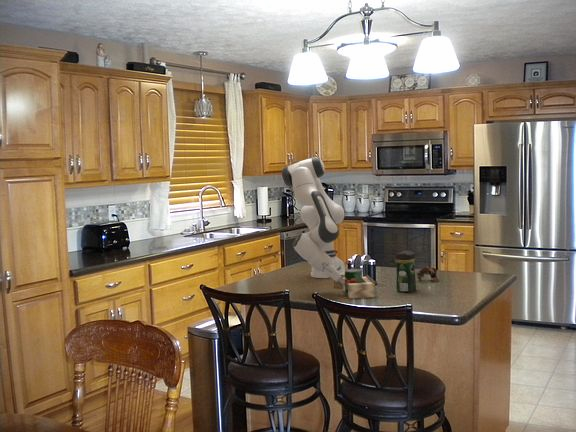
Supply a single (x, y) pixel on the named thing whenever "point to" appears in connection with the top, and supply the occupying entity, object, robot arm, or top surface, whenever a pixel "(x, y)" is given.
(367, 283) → the holder
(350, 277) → the canned tomato
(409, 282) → the coffee jar
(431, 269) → the brown arched piece
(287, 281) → the top surface
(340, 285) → the walnut block
